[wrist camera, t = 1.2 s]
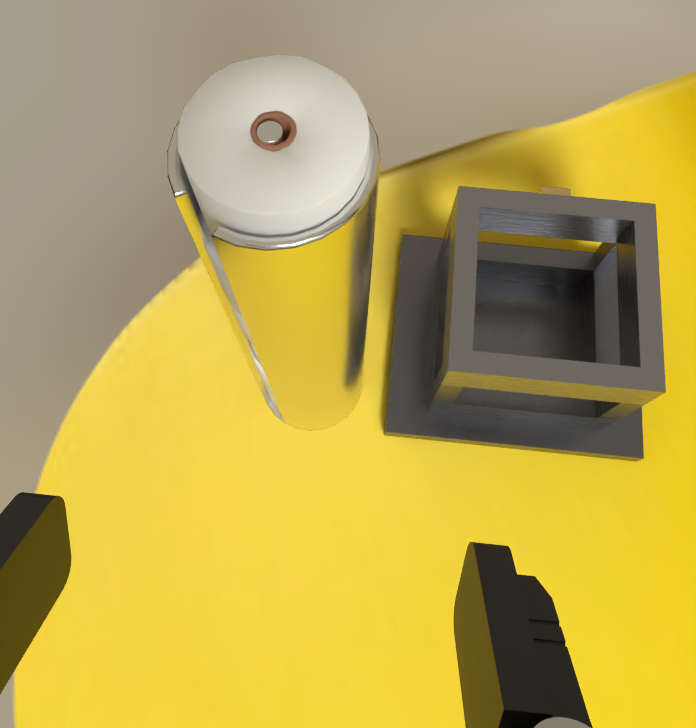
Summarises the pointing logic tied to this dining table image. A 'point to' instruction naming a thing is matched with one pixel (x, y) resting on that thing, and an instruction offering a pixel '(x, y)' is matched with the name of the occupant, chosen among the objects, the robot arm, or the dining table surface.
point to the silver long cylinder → (285, 224)
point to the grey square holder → (529, 327)
